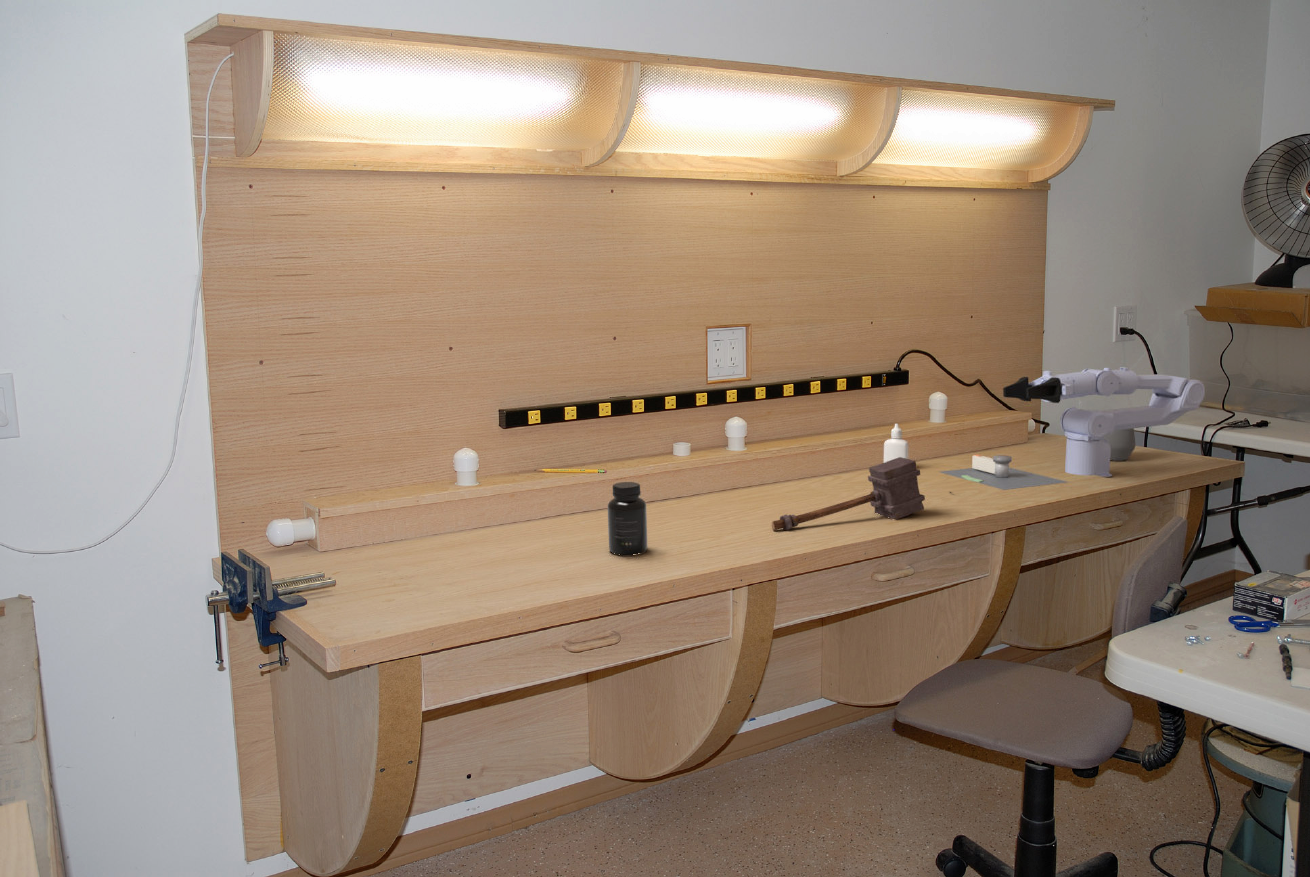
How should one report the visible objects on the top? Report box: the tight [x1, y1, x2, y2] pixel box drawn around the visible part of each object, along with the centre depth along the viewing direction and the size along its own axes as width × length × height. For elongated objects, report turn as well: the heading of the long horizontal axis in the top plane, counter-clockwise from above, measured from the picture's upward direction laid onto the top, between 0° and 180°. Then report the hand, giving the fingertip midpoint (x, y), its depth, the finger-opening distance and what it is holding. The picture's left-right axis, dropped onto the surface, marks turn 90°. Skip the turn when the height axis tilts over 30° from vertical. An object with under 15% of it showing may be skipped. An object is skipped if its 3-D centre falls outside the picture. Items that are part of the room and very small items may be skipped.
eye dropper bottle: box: [883, 423, 909, 463], centre depth 236 cm, size 4×6×12 cm
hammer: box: [771, 457, 926, 531], centre depth 192 cm, size 7×33×10 cm, turn 114°
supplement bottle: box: [607, 481, 648, 556], centre depth 173 cm, size 7×7×12 cm
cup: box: [1103, 428, 1136, 462], centre depth 249 cm, size 10×9×10 cm
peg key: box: [971, 453, 1013, 478], centre depth 229 cm, size 11×4×4 cm, turn 23°
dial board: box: [939, 467, 1068, 491], centre depth 226 cm, size 18×22×1 cm
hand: (1015, 392), depth 221 cm, fingers open, 7 cm apart
